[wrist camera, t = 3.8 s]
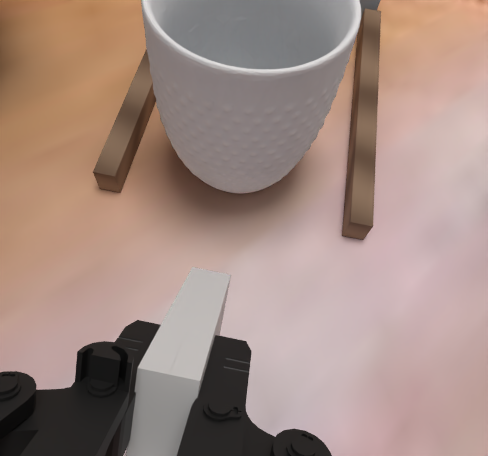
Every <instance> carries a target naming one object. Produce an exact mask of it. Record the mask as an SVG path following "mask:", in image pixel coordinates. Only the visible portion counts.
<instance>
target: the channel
mask: <svg viewBox="0 0 488 456" xmlns="http://www.w3.org/2000/svg"><path fill="white" fill-rule="evenodd" d="M380 23H381V11H376V10H371V9H366V8H365V9H364V12H363V15H362V18H361V21H360V26H359V30H358V35H357V48H356V61H355V74H354V87H353V100H352V113H351V126H350V139H349V152H348V165H347V178H346V191H345V204H344V217H343V230H342V236H347V237H352V238H357V239H362V240H363V239H364V238H365V236H366V235H367V234H368V232H369V231H370V230H371V228H372V227H373V211H374V184H375V157H376V130H377V104H378V77H379V50H380ZM155 101H156V97H155V95H154V90H153V80H152V76H151V73H150V62H149V57H148V53H147V49H146V51H145V54H144V56H143V58H142V61H141V63H140V65H139V68H138V70H137V72H136V74H135V77H134V79H133V81H132V84H131V86H130V88H129V91H128V93H127V95H126V97H125V100H124V102H123V104H122V107H121V109H120V111H119V113H118V116H117V118H116V120H115V123H114V125H113V127H112V130H111V132H110V134H109V136H108V139H107V141H106V143H105V146H104V148H103V150H102V153H101V155H100V157H99V159H98V162H97V164H96V166H95V169H94V171H93V173H94V176H95V178H96V180H97V183H98V185H99V188H100V189H105V190H110V191H115V192H121V190H122V187H123V184H124V182H125V179H126V177H127V174H128V171H129V169H130V166H131V164H132V161H133V158H134V156H135V153H136V151H137V148H138V145H139V143H140V140H141V138H142V135H143V132H144V130H145V127H146V125H147V122H148V120H149V117H150V114H151V112H152V109H153V107H154V104H155Z"/></svg>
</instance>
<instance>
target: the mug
mask: <svg viewBox="0 0 488 456" xmlns="http://www.w3.org/2000/svg"><path fill="white" fill-rule="evenodd" d="M141 4H142V14H143V21H144V28H145V37H146V48H147V53H148V57H149V62H150V73H151V76H152V80H153V90H154V95H155V97H156V103H157V108H158V110H159V112H160V117H161V121H162V123H163V125H164V127H165V131H166V134H167V137H168V138H169V139H170V141H171V144H172V147H173V148H174V150H175V151H176V152H177V155H178V157H179V158H180V159H181V160H182V161H183V163H184V165H185V166H186V167H187V168H189V170H190V171H191V172H192V174H194V175H195V176H197V177H198V178H199V179H201V180H202V181H203V182H205V183H206V184H208V185H210V186H212V187H214V188H216V189H219V190H222V191H225V192H230V193H250V192H255V191H259V190H262V189H264V188H267V187H269V186H271V185H272V184H274V183H275V182H278V181H280V180H281V179H282V178H283V177H284V176H285V175H287V174H288V173H289V171H290V170H291V169H293V168H294V167H295V165H296V164H297V163H298V162H299V161H300V160H301V159H302V158H303V156H304V154H305V153H306V151H308V150H309V149H310V146H311V144H312V142H313V141H314V140H315V139H316V137H317V135H318V132H319V130H320V129H321V128H322V126H323V125H324V120H325V118H326V116H327V114H328V113H329V111H330V109H331V104H332V102H333V100H334V98H335V97H336V93H337V90H338V87H339V84H340V82H341V80H342V78H343V76H344V72H345V68H346V65H347V63H348V62H349V56H350V53H351V51H352V48H353V45H354V42H355V39H356V36H357V33H358V30H359V26H360V20H361V5H360V1H359V0H141Z"/></svg>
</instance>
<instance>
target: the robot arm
mask: <svg viewBox="0 0 488 456" xmlns="http://www.w3.org/2000/svg"><path fill="white" fill-rule="evenodd" d="M230 277H231V275H230V274H225V273H220V272H215V271H210V270H205V269H200V268H195V267H192V269H191V271H190V273H189V275H188V276H187V278H186V280H185V282H184V284H183V286H182V287H181V289H180V291H179V293H178V295H177V297H176V298H175V300H174V302H173V304H172V306H171V308H170V309H169V311H168V313H167V315H166V317H165V319H164V320H163V322H162V324H161V325H159V324H154V323H149V322H144V321H139V320H137V321H135V322H133V323H132V324H130V325H128V326H126V327H125V328H124V330H123V331H122V333H121V334H120V336H119V338H117V340H116V341H115V342H105V341H104V342H96V343H92V344H89V345H87V346H84V347H83V348H82V349H80V350H79V351H78V352H77V364H76V376H75V382H74V384H73V385H72V386H71V387H69V388H65V389H51V390H36V383H35V381H34V379H33V378H32V377H30V376H29V375H28V374H25V373H21V372H17V371H15V372H1V373H0V456H123V454H124V452H125V450H126V448H127V454H126V456H332V455H331V453H330V451H329V450H328V448H327V447H326V445H325V444H324V443H323V442H322V441H321V440H320V439H319V438H317V437H316V436H315V435H313V434H311V433H309V432H306V431H303V430H298V429H289V430H284V431H282V432H281V433H279V434H277V436H276V437H274V436H272V435H270V434H268V433H266V432H264V431H263V430H261V429H259V428H258V427H257V426H256V425H255V424H254V423H252V421H251V420H250V418H249V417H248V415H247V412H246V406H245V404H246V395H247V386H248V377H249V368H250V360H251V350H250V348H249V346H248V344H247V342H246V341H242V340H237V339H232V338H228V337H223V336H219V335H220V330H221V324H222V319H223V314H224V309H225V303H226V298H227V293H228V287H229V282H230Z"/></svg>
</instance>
